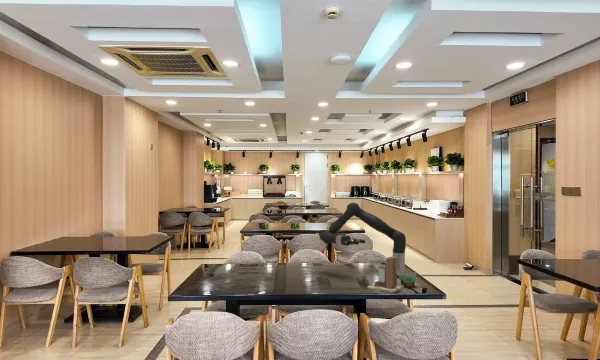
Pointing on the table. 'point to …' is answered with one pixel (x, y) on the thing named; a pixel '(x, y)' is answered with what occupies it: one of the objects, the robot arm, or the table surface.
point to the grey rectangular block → (382, 274)
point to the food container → (407, 279)
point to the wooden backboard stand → (388, 278)
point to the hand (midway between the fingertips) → (361, 242)
